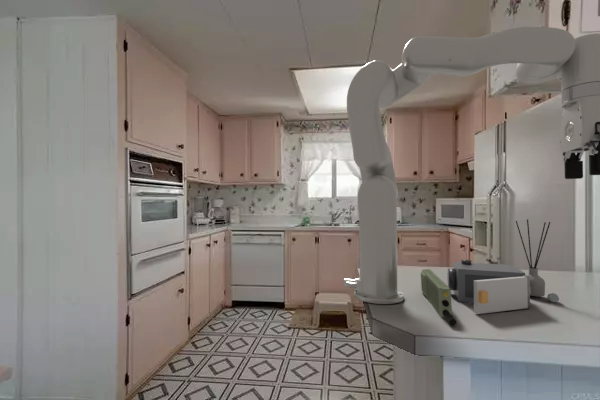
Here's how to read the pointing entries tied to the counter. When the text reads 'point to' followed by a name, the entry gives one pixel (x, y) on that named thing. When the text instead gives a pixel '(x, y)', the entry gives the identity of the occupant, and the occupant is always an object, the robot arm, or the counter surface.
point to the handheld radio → (437, 294)
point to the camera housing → (476, 276)
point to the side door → (501, 294)
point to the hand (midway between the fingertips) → (586, 176)
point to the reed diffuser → (535, 280)
